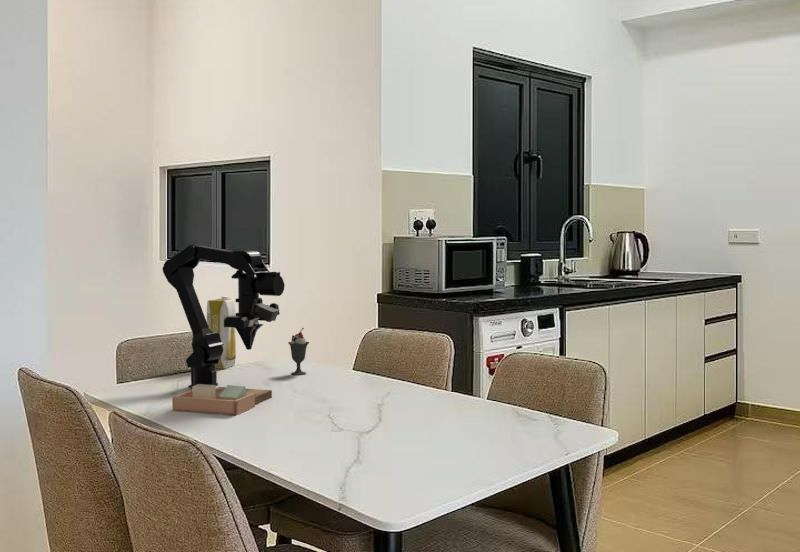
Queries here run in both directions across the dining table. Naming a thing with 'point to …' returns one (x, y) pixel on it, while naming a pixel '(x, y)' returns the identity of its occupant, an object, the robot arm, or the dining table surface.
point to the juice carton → (223, 328)
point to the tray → (212, 404)
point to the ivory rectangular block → (204, 391)
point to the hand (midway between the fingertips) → (248, 349)
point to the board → (259, 394)
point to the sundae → (298, 351)
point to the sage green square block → (233, 393)
